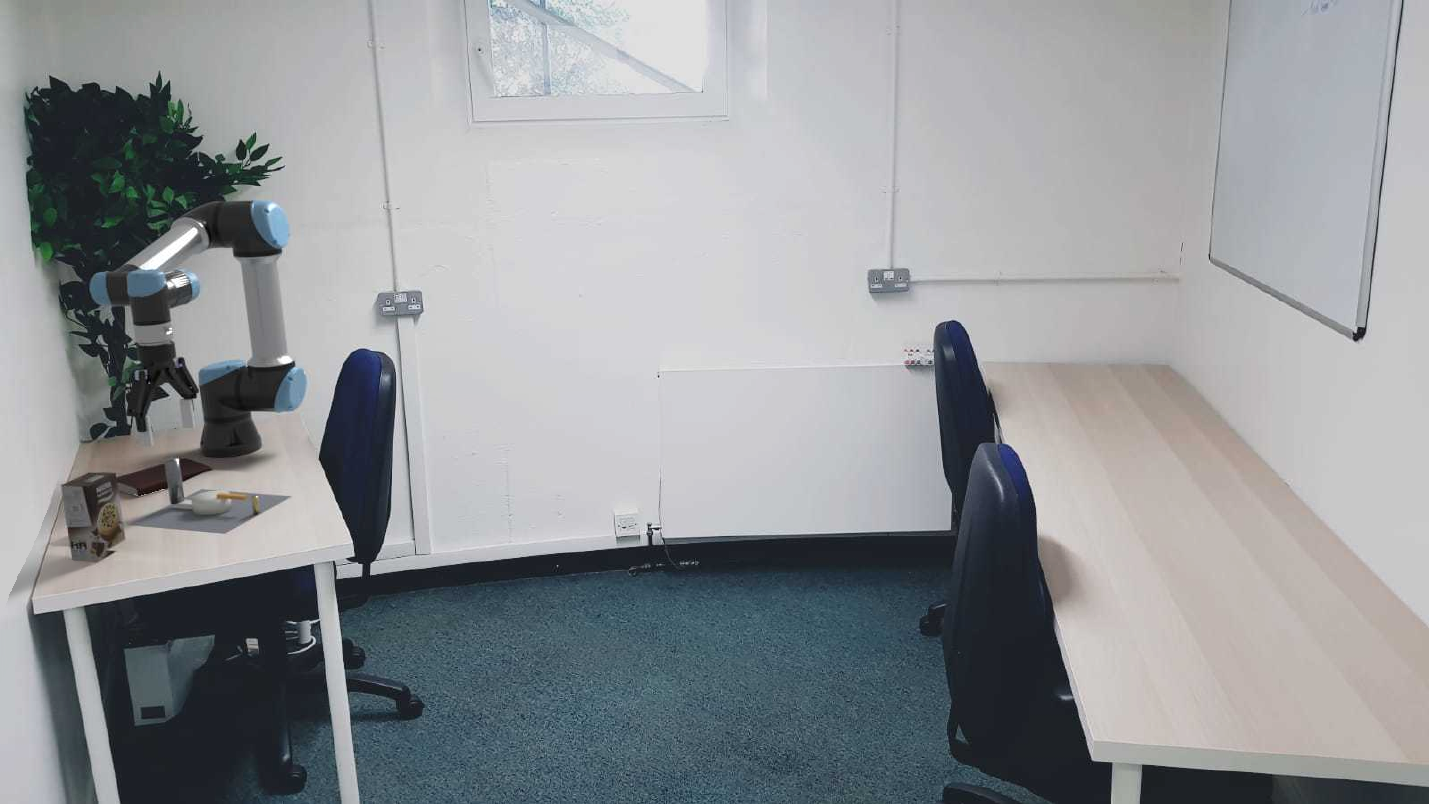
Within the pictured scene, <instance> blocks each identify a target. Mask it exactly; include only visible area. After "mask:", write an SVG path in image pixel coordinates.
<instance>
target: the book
mask: <svg viewBox="0 0 1429 804" xmlns="http://www.w3.org/2000/svg"><path fill="white" fill-rule="evenodd" d="M179 462H180V469H181V477H182V483H184V482H187V481H188V480H190V479H193V478H195V477H198V476H199V475H202V474H204V473H207V472H211V471H212V470H213V468H212V466H210V465H208V464H205V463H203V462H200V461H196V460H194V459H190V458H187V457H182V458H179ZM116 478H117V485H118V490H119V491H118V492H121V491H123V492H122V493H124V492H125V494H127V493H130V494H129V495H131V494H136V495H138V496H141V495H144V494H149V493H152V492H155V491H159V490H161V489H166V488H168V484H167V476H166V469H165V462H164V463H161V464H157V465H154V466H150V467H147V468H144V469H140V470H137V471H133V472H130V473H127V474H122V475H120V476H116ZM166 490H167V489H166ZM159 492H160V491H159ZM155 493H156V492H155ZM152 494H153V493H152ZM149 495H150V494H149Z"/></svg>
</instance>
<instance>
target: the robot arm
mask: <svg viewBox="0 0 1429 804" xmlns="http://www.w3.org/2000/svg"><path fill="white" fill-rule="evenodd" d="M290 234H291V231H290V224H289V221H288V218H287V215H286V213H285V211H284V210H283V209H282V208H281V207H280V205H278V203H276V202H273V201H268V200H261V199H260V200H259V199H258V200H256V199H255V200H228V201H227V200H217V201H216V200H215V201H211V202H207V203H204V204H203V205H200V206H198V207H195V208H193V209H191V210H189V211H187V212H186V213H184V214H183V215H181V216H180V217H178V218H177V219H175V220H174V221H173V222H172V224H171V226H170V229H169V230H168V231H167V232H165V233H164V234H163V235H161V236H160V237H159V238H157V239H156V240H154V242H152V243H151V244H149V245H148V246H146V247H145V248H144V249H143V250H141V251H140V252H139V253H138V254H136V255H135V256H133V257H132V258H130V259H129V260H128V261H127V262H125V263H124V264H123V265H121V266H119V268H117V269H115V270H114V271H108V270H107V271H102V272H101V271H100V272H97V273H95V274H93V276H92V277H91V280H90V281H89V292H90V294H91V298H92V300H93V301H94V302H95V304H98V305H100V306H110V307H111V306H112V308H114V307H130V311H131V317H132V327H133V335H134V341H135V343H136V344H137V345H136V346H135V347H136V352H137V358H138V361H139V362H140V363H141V364H142V369H141V370H138V369H137V370H136V369H134V370H131V371H132V372H131V381H132V382H131V387H130V392H129V397H128V403H127V409H126V414H125V415H126V416H127V417H132V418H134V419H135V426H136V430H137V432H138V434H139V441H140V446H143V447H144V446H145V447H153V446H155V444H154V443H155V442H154V437H153V436H154V435H153V431H152V430H153V429H152V423H151V416H150V415H148V412H149V409H150V406H151V405H152V401H153V399H154V396H155V393H156V390H158V389H159V387H160V386H163V385H164V384H169V385H170V386H171V388H172V389H173V390H174V391H175V392H176V393H177V394H178V395H179V396H180V398H181V399H178V401H179V407H180V413H181V414H180V416H181V420H182V421H181V422H182V428H186V429H187V428H188V429H195V428H196V420H195V406H194V405H195V404H194V399H195V400H196V399H197V398H198V395H197V394H199V396H200V403H201V408H202V415H203V427H202V431H201V435H200V436H201V437H200V441H199V451H200V454H201V455H203V456H205V457H214V458H223V457H224V458H226V457H234V456H235V457H236V456H242V455H245V454H249V453H253V452H255V451H257V450H259V449H260V448H262V446H263V443H262V436H261V435H260V434H259V431H258V428H257V427H256V424H255V422H254V420H253V417H252V412H259V413H260V412H266V413H267V412H268V413H269V412H271V413H272V412H273V413H278V414H279V413H285V412H289V413H290V412H294V411H296V410H297V409H298V408H299V407H300V406H301V404H302V403H303V401H304V398H305V396H306V392H307V383H308V382H307V375H306V374H307V373H306V372H305V370H304V368H302V367H300V366H298V365H296V359H295V357H294V356H293V355H291V354H290V353H289V352H288V351H289V350H288V344H287V335H286V326H285V325H286V324H285V317H284V310H283V301H282V300H283V299H282V292H281V285H280V284H281V283H280V276H279V275H280V273H279V266H278V260H279V258H281V256H282V255H283V248H285V247H287V245H288V243H289V241H290V238H289V237H290V236H291V235H290ZM224 248H225V249H231V250H232V254H233V255H232V256H233V258H234V259H236V260H237V261H238V262H239V263H240V266H241V269H240V270H241V275H242V276H241V278H242V284H243V285H242V286H243V291H244V301H245V307H246V316H247V323H248V324H247V325H248V331H249V339H250V346H251V348H250V349H251V357H250V359H248V361H247V363H246V361H245V360H244V359H239V358H237V359H231V360H224V361H220V362H216V363H212V364H208V365H206V366H204V367H201V369H200V370H199V371H198V375H197V377H198V386H197V384H196V382H195V380H194V378H193V376H192V375H191V372H190V371H189V369H188V367H187V366H186V360H185V357H183V356H177V352H176V345H175V344H176V343H175V341H173V339H174V333H173V326H172V317H171V311H170V310H171V309H174V308H178V307H181V306H183V305H187V304H189V303H191V302H193V301H194V300H196V299H197V298H198V297H199V295H200V294H201V292H200V291H201V283H200V280H199V278H198V276H197V275H196V274H195V273H193V272H192V271H191V270H188V269H184V268H183V269H181V268H180V269H177V268H178V267H180V265H182V264H183V263H185V261H186V260H188V259H189V258H190V257H192V256H193V255H194V256H195V255H200V254H203V253H204V252H205V251H206V250H211V249H224Z"/></svg>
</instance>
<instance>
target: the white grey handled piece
mask: <svg viewBox="0 0 1429 804" xmlns="http://www.w3.org/2000/svg"><path fill="white" fill-rule="evenodd" d="M179 459H180V457H177V456H176V457H175V456H174V457H172V456H171V457H167V458H165V459H163V460H164V463H165V469H166V476H167V484H168V489H167V490H168V496H169V497H168V498H169V505H170V504H172V507H173V508H180V509H191V510H193V513H194V514H196V515H204V516H205V515H215V514H220V513H223V512H226V511H228V510H230V509H231V508H232V503H231V499H235V500H246V499H248V496H247V495H241V494H230V493H229V492H227V491H228V490H219V491H208V492H203V493H200V494H197V495H195V496H193V497H192V498H191V500H185V499H184V498H185V493H184V486H183V485H184V484H183V482H182V477H181V469H180V462H179Z"/></svg>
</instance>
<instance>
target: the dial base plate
mask: <svg viewBox="0 0 1429 804" xmlns="http://www.w3.org/2000/svg"><path fill="white" fill-rule="evenodd" d="M208 491H220V490H215V489H206V488H205V489H204V488H201V489H199V490H197V491H195V492H193V493H191V494H189V495H186V496H184V499H185V500H191V498H192V497H193V496H195V495H197V494H200V493H203V492H208ZM226 491H227V492H229V493H230V494H241V495H247V496H248V499H246V500H235V499H231V503H232V508H231V509H230V510H228V511H226V512H223V513H220V514H215V515H205V516H204V515H196V514H194V513H193V510H191V509H180V508H173V507H172V504H170V503H169V505H166V506H164V507H162V508H160V509H158V510H156V511H154V512H152V513H150V514H148V515H146V516H143V517H141V518H140V519H137V520H136V521H135V520H134V521H133V522H131V523H129V524H128V525H129V526H138V527H146V528H159V529H160V528H161V529H169V530H178V531H179V530H181V531H193V532H203V533H213V534H214V533H215V534H216V533H217V534H227V533H229V532H231V531H232V530H234V529H236V528H238V527H239V526H241V525H243V524H245V523H247V522H249V521H251V520H252V519H254V518H256V517H258V516H259V515H261V514H263V513H265V512H267V511H268V510H271V509H272V508H274V507H276V506H277V505H279V504H281V503H283V502H284V501H286V500H288V499H291V498H292V496H291V495H279V494H267V493H266V494H265V493H254V492H253V493H252V492H242V491H241V492H240V491H231V490H230V491H228V490H226Z"/></svg>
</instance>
